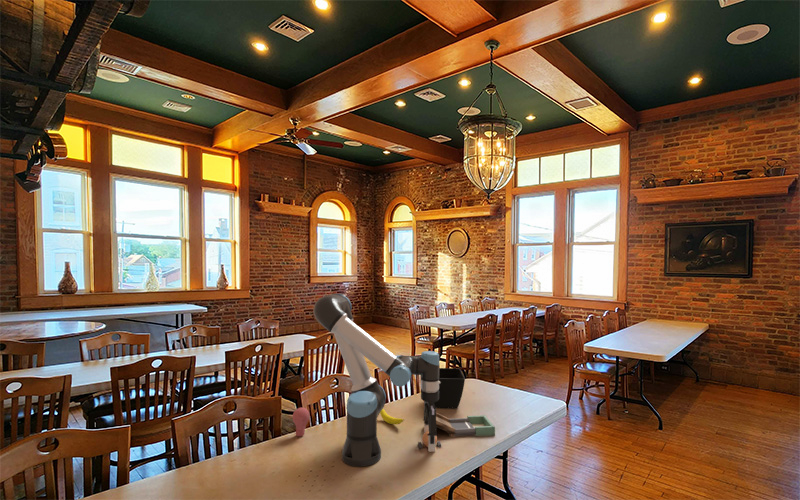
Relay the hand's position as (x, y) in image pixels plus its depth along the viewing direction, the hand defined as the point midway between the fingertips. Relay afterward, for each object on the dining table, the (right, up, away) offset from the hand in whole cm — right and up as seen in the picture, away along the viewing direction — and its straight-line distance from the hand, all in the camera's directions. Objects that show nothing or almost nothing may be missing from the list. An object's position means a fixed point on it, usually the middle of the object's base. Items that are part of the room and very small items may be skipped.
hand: (429, 445), depth 159 cm
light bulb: (-55, -1, +9) cm, 56 cm away
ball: (0, +3, 0) cm, 3 cm away
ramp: (+6, -1, +15) cm, 16 cm away
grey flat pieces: (0, 0, 0) cm, 0 cm away
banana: (-17, -1, +22) cm, 28 cm away
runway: (+16, -1, +16) cm, 22 cm away
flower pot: (+12, -2, +48) cm, 49 cm away
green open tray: (+25, -1, +17) cm, 30 cm away
